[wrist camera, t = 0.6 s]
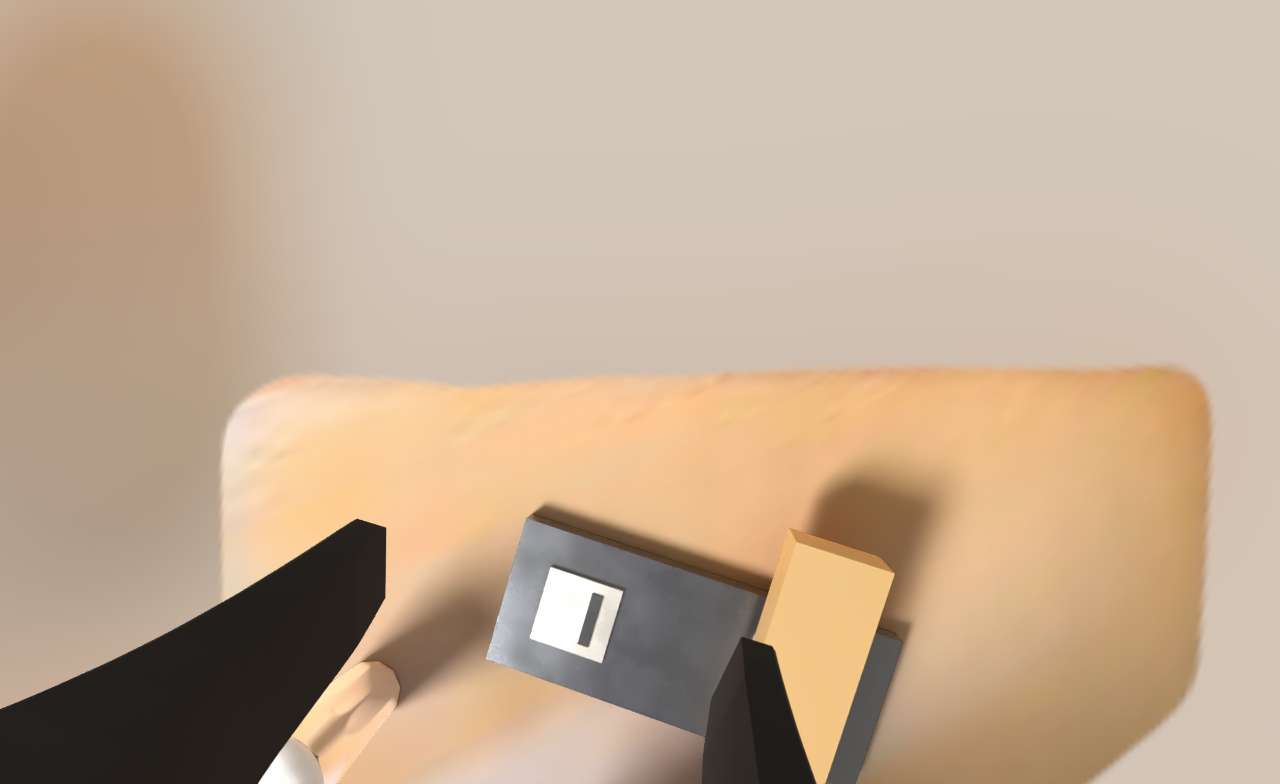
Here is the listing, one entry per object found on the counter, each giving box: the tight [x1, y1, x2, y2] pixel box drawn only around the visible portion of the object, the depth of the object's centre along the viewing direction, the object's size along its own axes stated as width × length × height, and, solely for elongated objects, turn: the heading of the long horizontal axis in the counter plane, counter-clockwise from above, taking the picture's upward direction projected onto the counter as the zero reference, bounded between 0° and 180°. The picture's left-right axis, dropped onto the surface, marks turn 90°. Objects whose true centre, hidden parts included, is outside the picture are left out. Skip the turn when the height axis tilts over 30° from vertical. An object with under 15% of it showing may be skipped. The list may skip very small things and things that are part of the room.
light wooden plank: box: [754, 528, 895, 784], centre depth 28 cm, size 16×4×2 cm, turn 163°
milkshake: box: [258, 661, 400, 784], centre depth 29 cm, size 4×5×10 cm
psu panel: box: [486, 514, 903, 784], centre depth 31 cm, size 8×20×1 cm, turn 73°
